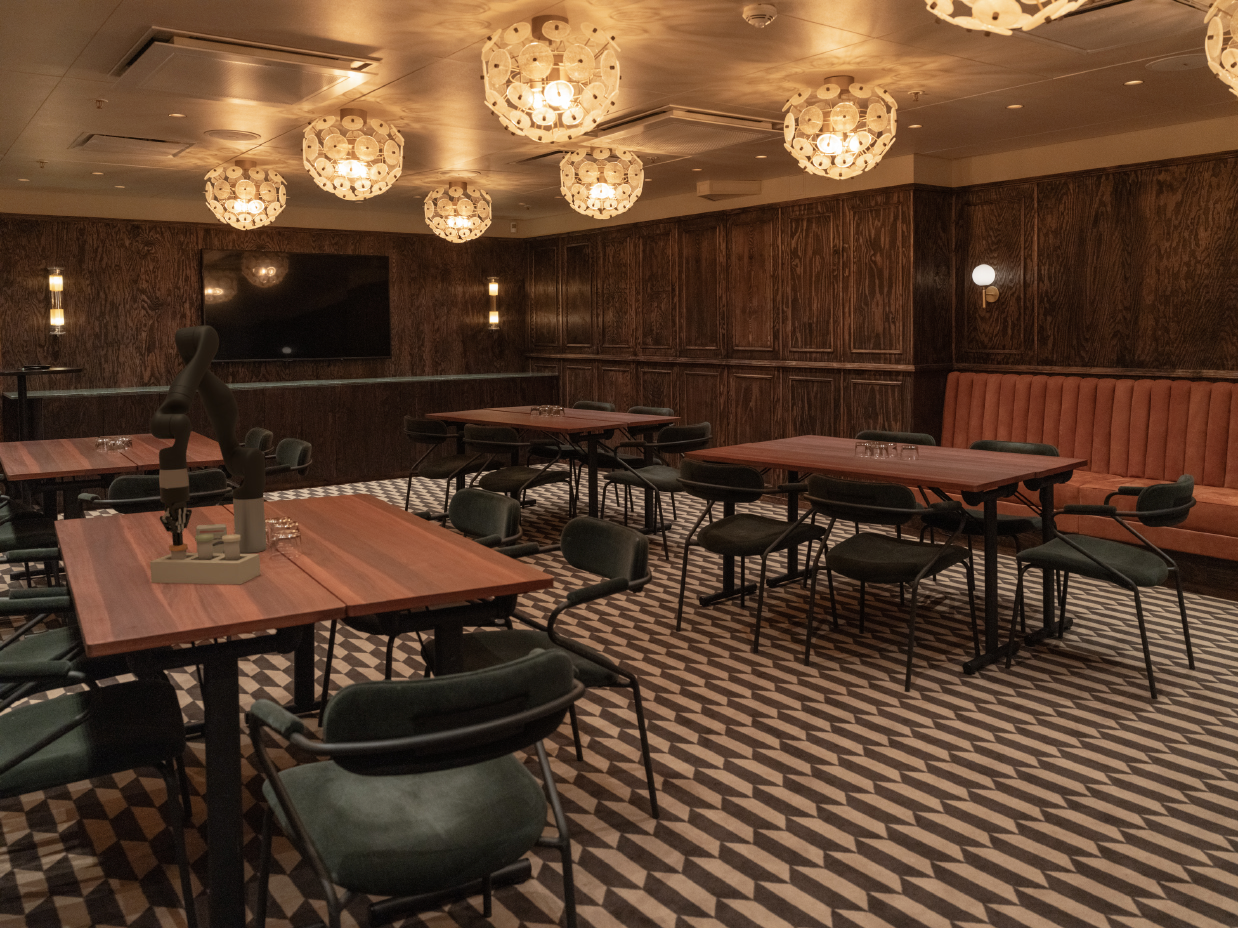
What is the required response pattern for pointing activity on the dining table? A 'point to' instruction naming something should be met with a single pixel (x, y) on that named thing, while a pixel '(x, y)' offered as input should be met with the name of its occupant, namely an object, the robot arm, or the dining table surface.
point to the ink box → (217, 532)
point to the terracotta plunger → (178, 552)
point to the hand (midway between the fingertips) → (177, 545)
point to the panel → (205, 569)
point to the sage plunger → (204, 546)
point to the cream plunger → (231, 547)
